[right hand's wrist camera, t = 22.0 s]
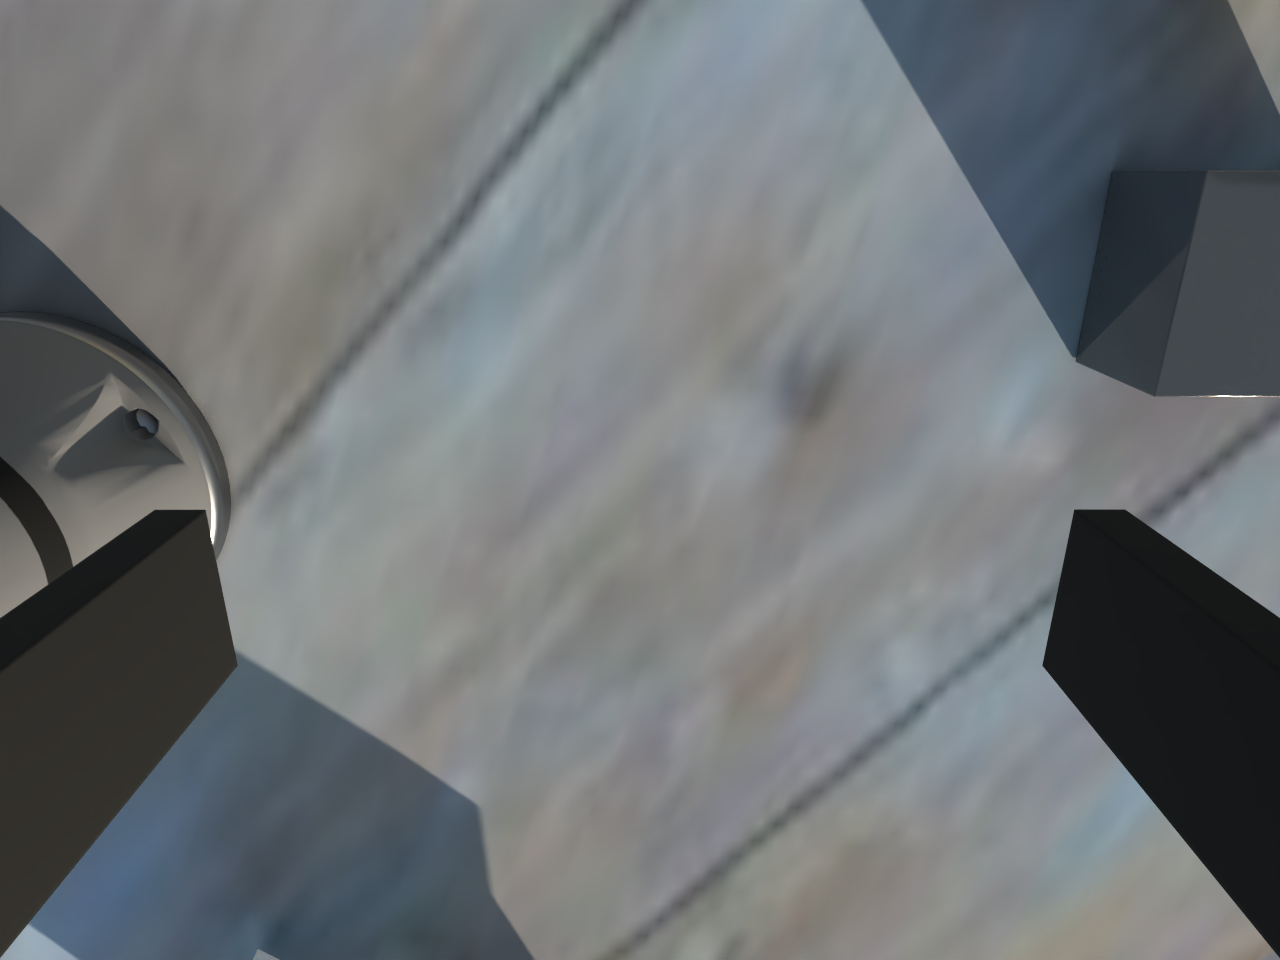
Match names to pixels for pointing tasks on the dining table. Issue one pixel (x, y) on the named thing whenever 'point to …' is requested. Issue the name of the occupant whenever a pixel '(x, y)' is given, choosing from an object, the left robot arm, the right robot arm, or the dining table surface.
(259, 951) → the white plastic object
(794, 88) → the dining table surface
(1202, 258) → the slate block
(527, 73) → the dining table surface
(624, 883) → the dining table surface
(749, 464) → the dining table surface
